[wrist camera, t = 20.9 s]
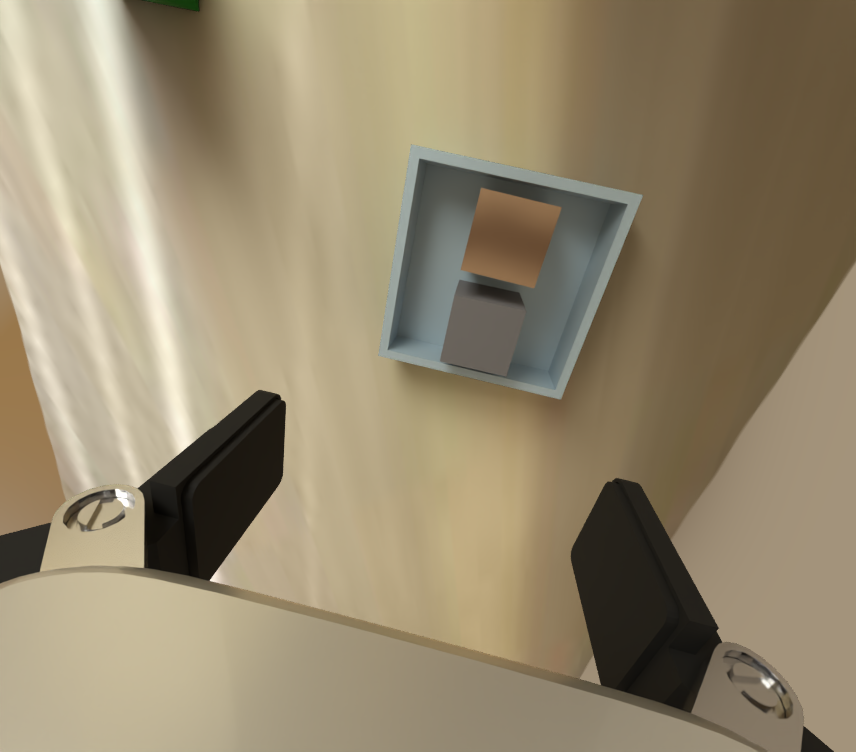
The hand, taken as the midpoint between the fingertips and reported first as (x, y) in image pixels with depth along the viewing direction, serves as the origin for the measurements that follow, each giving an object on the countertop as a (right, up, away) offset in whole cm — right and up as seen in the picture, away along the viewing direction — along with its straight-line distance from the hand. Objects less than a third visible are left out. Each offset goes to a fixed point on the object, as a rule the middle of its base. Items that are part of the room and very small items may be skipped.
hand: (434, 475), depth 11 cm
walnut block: (+7, +16, +24) cm, 30 cm away
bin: (+6, +13, +27) cm, 30 cm away
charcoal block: (+5, +9, +28) cm, 30 cm away
